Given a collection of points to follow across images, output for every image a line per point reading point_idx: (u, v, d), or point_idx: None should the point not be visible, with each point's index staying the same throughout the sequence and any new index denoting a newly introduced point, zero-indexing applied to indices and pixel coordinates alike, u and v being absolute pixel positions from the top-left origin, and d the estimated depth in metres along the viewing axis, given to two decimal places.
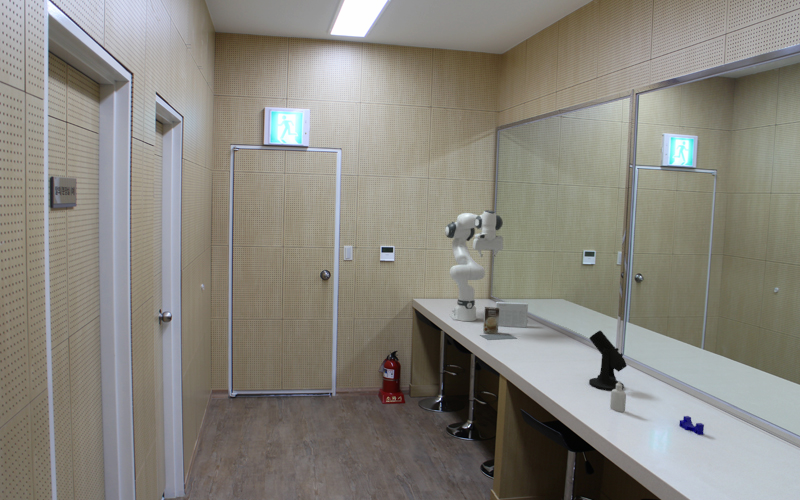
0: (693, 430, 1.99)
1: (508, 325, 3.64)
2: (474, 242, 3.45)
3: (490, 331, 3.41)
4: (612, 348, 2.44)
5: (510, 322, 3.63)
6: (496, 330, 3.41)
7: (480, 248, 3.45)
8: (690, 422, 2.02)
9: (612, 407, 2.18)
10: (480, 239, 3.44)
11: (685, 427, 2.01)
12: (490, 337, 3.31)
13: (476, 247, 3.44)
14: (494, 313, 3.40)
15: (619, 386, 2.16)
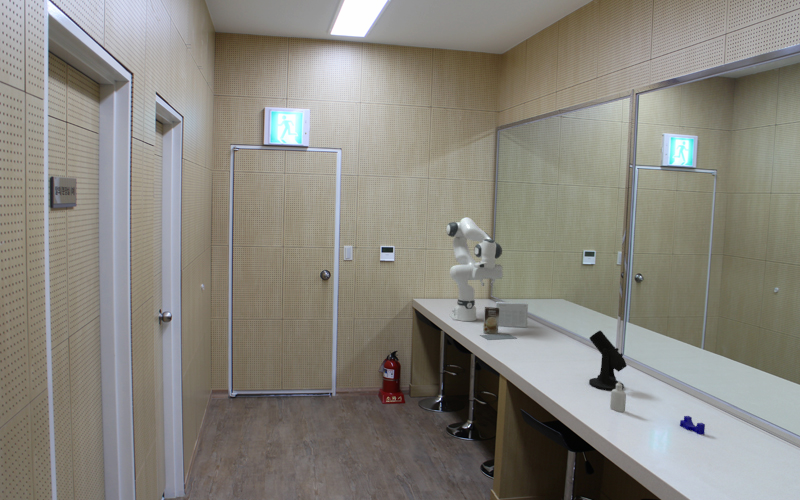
0: (694, 430, 1.99)
1: (508, 325, 3.64)
2: (474, 271, 3.46)
3: (490, 331, 3.41)
4: (612, 348, 2.44)
5: (510, 322, 3.63)
6: (496, 330, 3.41)
7: (480, 277, 3.45)
8: (691, 422, 2.02)
9: (612, 407, 2.18)
10: (480, 268, 3.44)
11: (686, 427, 2.01)
12: (490, 337, 3.31)
13: (476, 276, 3.44)
14: (494, 313, 3.40)
15: (619, 386, 2.16)
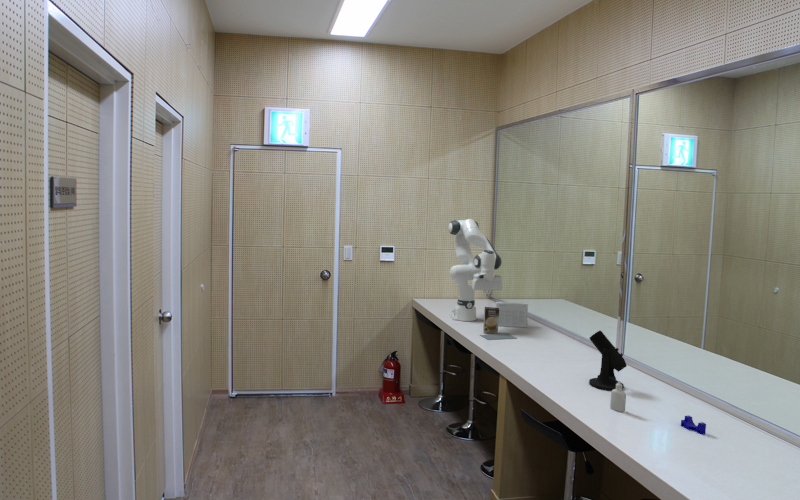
0: (695, 430, 1.99)
1: (508, 325, 3.64)
2: (473, 282, 3.46)
3: (490, 331, 3.41)
4: (612, 348, 2.44)
5: (510, 322, 3.63)
6: (496, 330, 3.41)
7: (479, 288, 3.46)
8: (691, 422, 2.03)
9: (612, 407, 2.18)
10: (479, 279, 3.44)
11: (687, 427, 2.01)
12: (490, 337, 3.31)
13: (475, 287, 3.45)
14: (494, 313, 3.40)
15: (619, 386, 2.16)
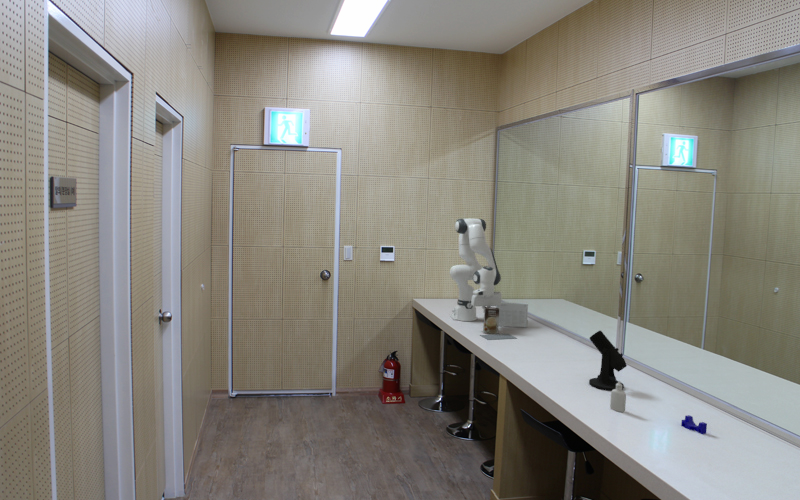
0: (696, 430, 1.99)
1: (508, 325, 3.64)
2: (472, 298, 3.47)
3: (490, 331, 3.41)
4: (612, 348, 2.44)
5: (510, 322, 3.63)
6: (496, 330, 3.41)
7: (478, 305, 3.47)
8: (692, 421, 2.03)
9: (612, 407, 2.18)
10: (478, 296, 3.45)
11: (688, 427, 2.01)
12: (490, 337, 3.31)
13: (474, 304, 3.46)
14: (494, 313, 3.40)
15: (619, 386, 2.16)
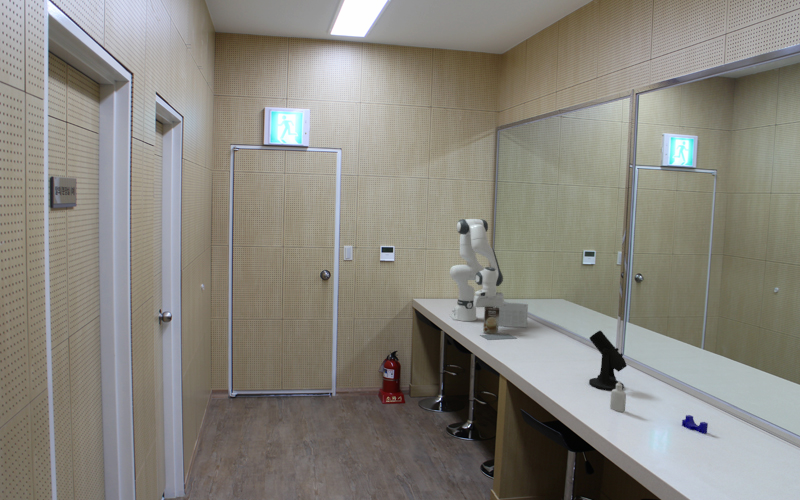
0: (697, 429, 2.00)
1: (508, 325, 3.64)
2: (475, 299, 3.44)
3: (490, 331, 3.41)
4: (612, 348, 2.44)
5: (510, 322, 3.63)
6: (496, 330, 3.40)
7: (481, 306, 3.44)
8: (692, 421, 2.03)
9: (612, 407, 2.18)
10: (481, 297, 3.42)
11: (688, 426, 2.01)
12: (490, 337, 3.31)
13: (477, 305, 3.43)
14: (494, 313, 3.39)
15: (619, 386, 2.16)
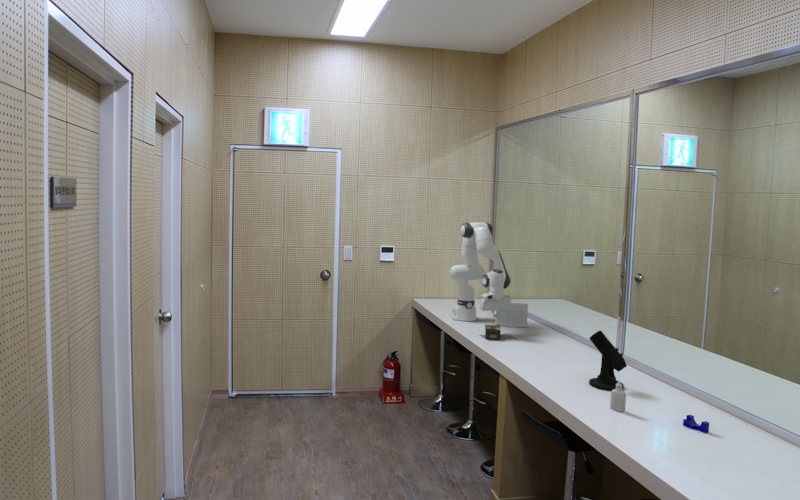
0: (698, 429, 2.00)
1: (508, 325, 3.64)
2: (481, 302, 3.34)
3: None
4: (612, 348, 2.44)
5: (510, 322, 3.63)
6: None
7: (488, 309, 3.34)
8: (693, 421, 2.04)
9: (612, 407, 2.18)
10: (488, 300, 3.32)
11: (690, 426, 2.02)
12: None
13: (483, 308, 3.33)
14: None
15: (619, 386, 2.16)
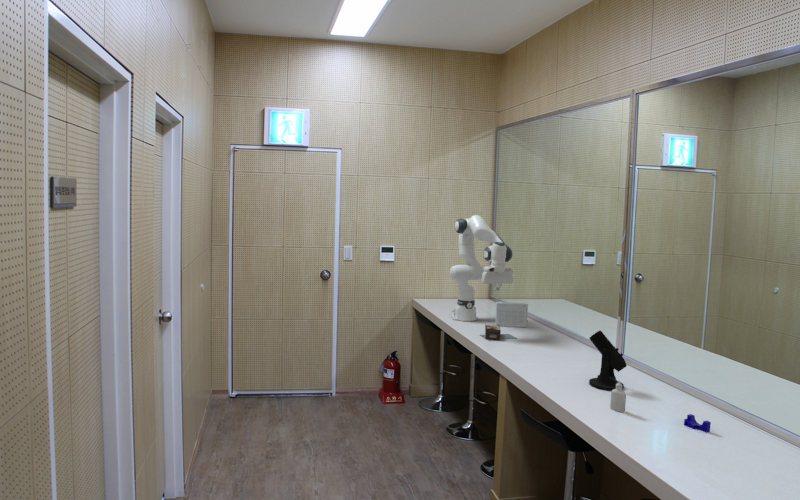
0: (699, 428, 2.01)
1: (508, 325, 3.64)
2: (483, 275, 3.32)
3: None
4: (612, 348, 2.44)
5: (510, 322, 3.63)
6: None
7: (489, 282, 3.32)
8: (694, 420, 2.04)
9: (612, 407, 2.18)
10: (489, 272, 3.31)
11: (691, 426, 2.02)
12: None
13: (485, 281, 3.31)
14: None
15: (619, 386, 2.16)
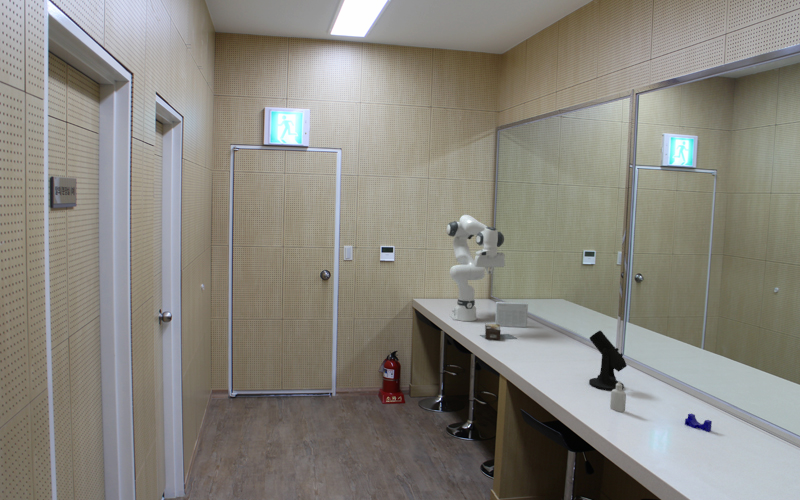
0: (701, 428, 2.01)
1: (508, 325, 3.64)
2: (475, 259, 3.43)
3: None
4: (612, 348, 2.44)
5: (510, 322, 3.63)
6: None
7: (481, 265, 3.43)
8: (695, 419, 2.05)
9: (612, 407, 2.18)
10: (481, 256, 3.41)
11: (692, 425, 2.03)
12: None
13: (477, 264, 3.42)
14: None
15: (619, 386, 2.16)
